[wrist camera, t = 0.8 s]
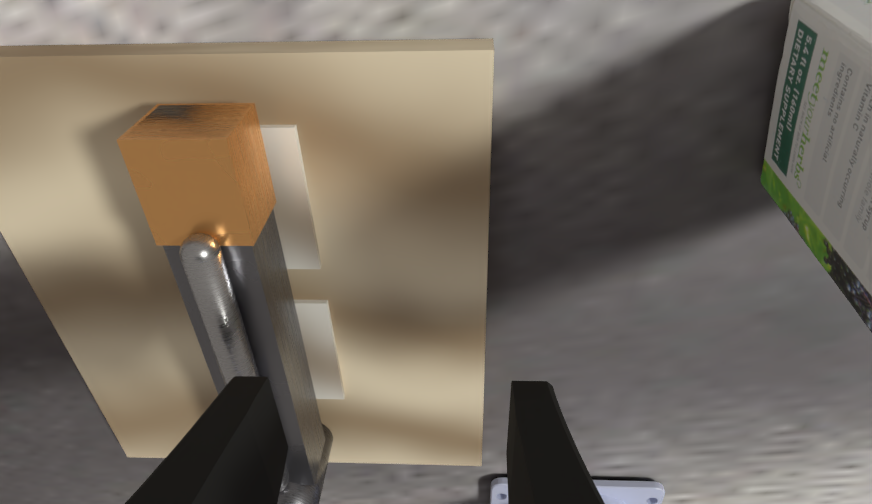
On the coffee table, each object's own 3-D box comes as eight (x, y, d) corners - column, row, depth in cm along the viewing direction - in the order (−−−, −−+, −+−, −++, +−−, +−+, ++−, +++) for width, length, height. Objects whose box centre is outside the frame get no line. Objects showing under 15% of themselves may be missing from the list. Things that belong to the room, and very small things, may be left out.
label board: (481, 446, 26) (481, 472, 25) (137, 438, 27) (124, 462, 26) (492, 38, 16) (494, 53, 15) (-70, 46, 17) (-106, 61, 16)
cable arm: (338, 453, 25) (317, 555, 22) (280, 452, 25) (249, 553, 22) (263, 91, 16) (203, 167, 12) (170, 92, 16) (84, 168, 12)
